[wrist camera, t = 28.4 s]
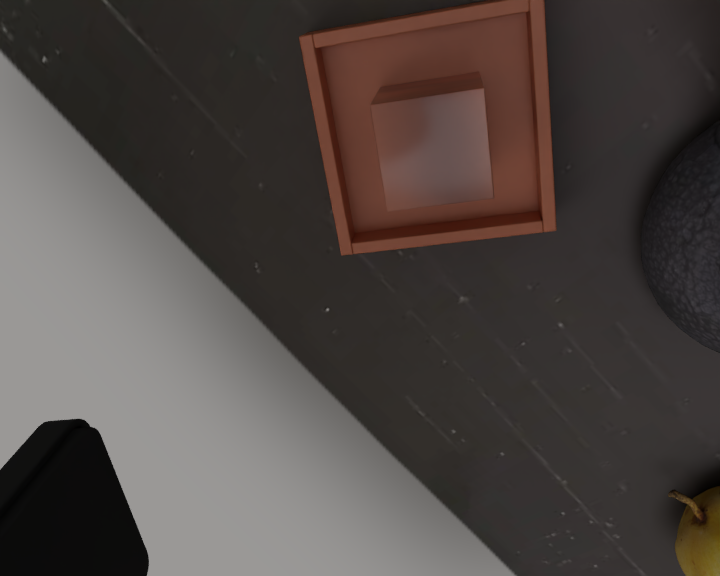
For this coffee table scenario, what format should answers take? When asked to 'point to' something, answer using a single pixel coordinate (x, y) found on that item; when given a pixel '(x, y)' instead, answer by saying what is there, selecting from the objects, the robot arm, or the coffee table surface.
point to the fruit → (699, 533)
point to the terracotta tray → (422, 62)
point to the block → (433, 142)
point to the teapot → (687, 239)
